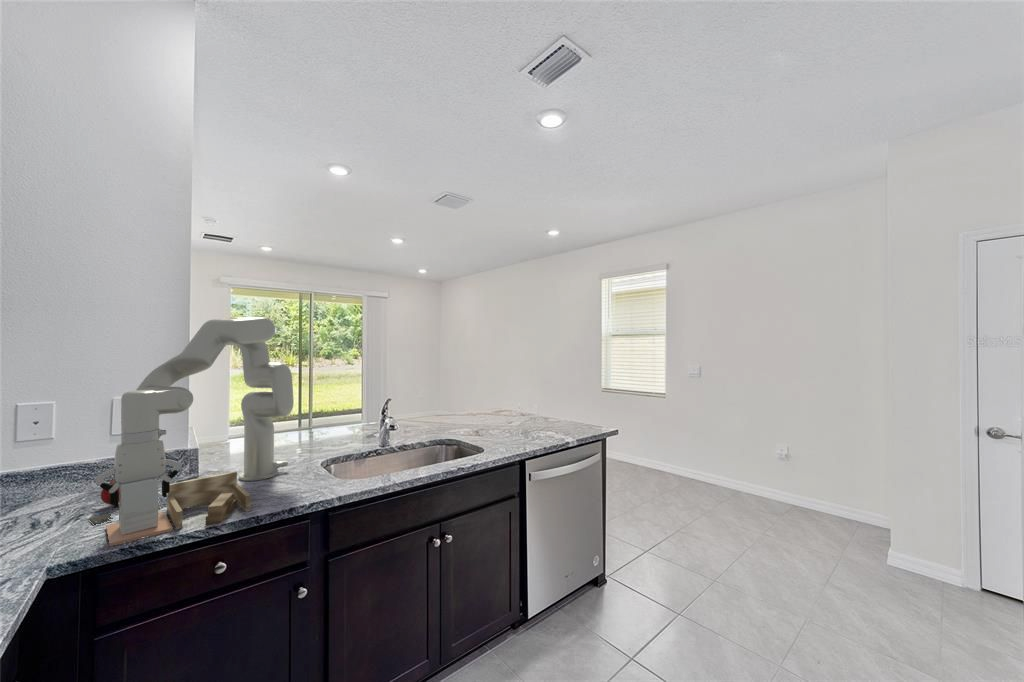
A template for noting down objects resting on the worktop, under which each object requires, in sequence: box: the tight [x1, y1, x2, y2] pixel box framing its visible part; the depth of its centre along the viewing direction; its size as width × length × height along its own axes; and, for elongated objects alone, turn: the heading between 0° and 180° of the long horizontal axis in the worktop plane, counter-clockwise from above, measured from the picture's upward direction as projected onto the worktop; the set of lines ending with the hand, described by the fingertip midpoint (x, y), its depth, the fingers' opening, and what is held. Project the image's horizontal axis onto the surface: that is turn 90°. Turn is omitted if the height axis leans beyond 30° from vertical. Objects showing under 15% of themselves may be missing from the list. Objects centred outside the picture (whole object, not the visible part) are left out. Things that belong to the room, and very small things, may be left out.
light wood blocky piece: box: [166, 471, 252, 530], centre depth 122 cm, size 17×16×8 cm
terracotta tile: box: [105, 512, 174, 548], centre depth 109 cm, size 12×14×1 cm
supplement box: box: [118, 477, 159, 535], centre depth 109 cm, size 7×7×13 cm
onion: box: [100, 479, 119, 506], centre depth 125 cm, size 6×6×8 cm
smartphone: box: [88, 503, 164, 525], centre depth 119 cm, size 7×1×15 cm
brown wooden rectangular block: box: [205, 493, 238, 526], centre depth 119 cm, size 12×4×5 cm, turn 16°
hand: (140, 501), depth 110 cm, fingers open, 9 cm apart
